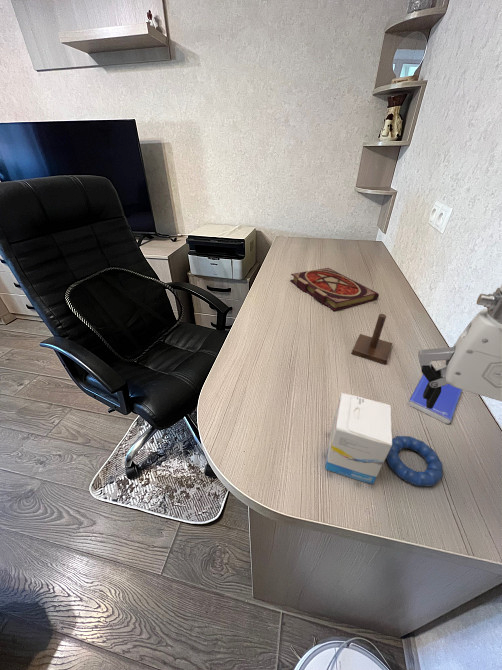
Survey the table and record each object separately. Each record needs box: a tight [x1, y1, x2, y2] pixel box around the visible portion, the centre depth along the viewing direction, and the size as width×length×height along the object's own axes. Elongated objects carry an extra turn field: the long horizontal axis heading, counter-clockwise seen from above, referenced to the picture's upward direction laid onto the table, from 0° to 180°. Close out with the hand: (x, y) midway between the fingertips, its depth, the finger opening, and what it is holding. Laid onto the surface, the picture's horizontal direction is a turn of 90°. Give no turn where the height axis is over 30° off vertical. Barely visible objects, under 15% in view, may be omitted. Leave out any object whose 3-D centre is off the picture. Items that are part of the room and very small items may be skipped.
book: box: [289, 267, 380, 312], centre depth 109 cm, size 28×21×5 cm
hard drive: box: [407, 373, 463, 425], centre depth 63 cm, size 2×8×12 cm
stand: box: [351, 313, 393, 366], centre depth 75 cm, size 9×9×12 cm
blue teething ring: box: [385, 435, 444, 487], centre depth 50 cm, size 9×9×2 cm
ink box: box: [324, 392, 393, 485], centre depth 48 cm, size 9×8×12 cm
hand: (466, 414), depth 41 cm, fingers open, 9 cm apart
